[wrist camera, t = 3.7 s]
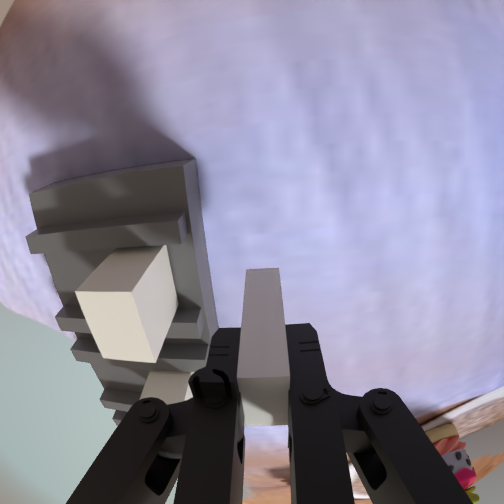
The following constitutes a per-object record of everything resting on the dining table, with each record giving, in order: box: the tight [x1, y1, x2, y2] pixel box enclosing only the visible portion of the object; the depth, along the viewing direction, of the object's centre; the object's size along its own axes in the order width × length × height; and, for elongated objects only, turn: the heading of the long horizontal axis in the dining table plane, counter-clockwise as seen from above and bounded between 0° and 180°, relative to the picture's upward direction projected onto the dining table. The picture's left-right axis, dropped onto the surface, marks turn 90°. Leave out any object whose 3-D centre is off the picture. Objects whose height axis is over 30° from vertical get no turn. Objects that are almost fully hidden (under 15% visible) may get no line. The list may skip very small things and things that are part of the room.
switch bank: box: [26, 159, 219, 426], centre depth 21 cm, size 30×11×4 cm, turn 4°
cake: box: [425, 424, 479, 504], centre depth 25 cm, size 10×11×15 cm
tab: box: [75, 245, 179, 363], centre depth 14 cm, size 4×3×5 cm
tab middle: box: [139, 370, 194, 405], centre depth 18 cm, size 4×3×5 cm
